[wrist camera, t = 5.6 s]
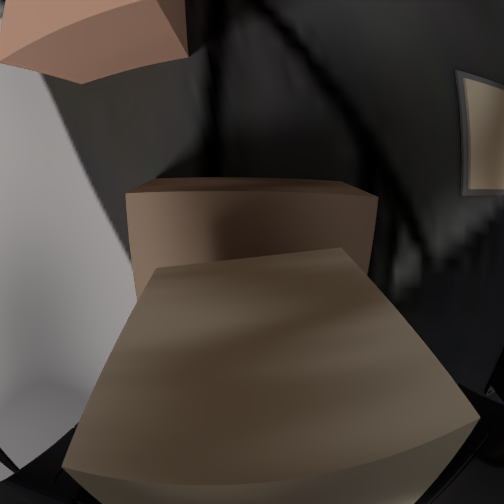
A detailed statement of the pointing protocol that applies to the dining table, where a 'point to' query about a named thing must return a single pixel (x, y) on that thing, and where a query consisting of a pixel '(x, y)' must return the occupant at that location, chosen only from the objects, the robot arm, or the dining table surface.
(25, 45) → the terracotta block
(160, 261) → the walnut base block
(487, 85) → the tile
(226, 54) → the dining table surface
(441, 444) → the oak block
